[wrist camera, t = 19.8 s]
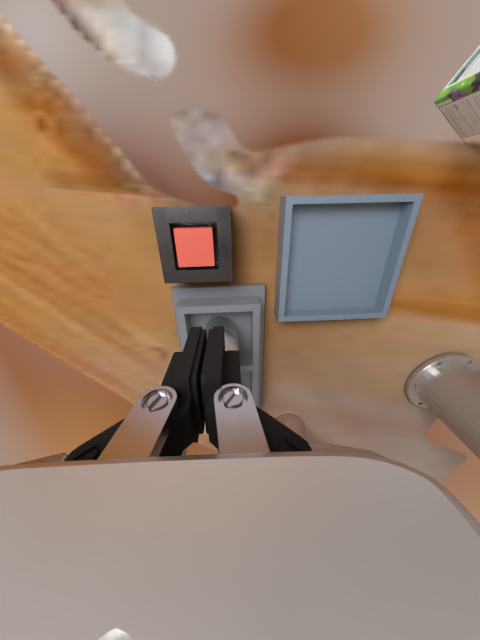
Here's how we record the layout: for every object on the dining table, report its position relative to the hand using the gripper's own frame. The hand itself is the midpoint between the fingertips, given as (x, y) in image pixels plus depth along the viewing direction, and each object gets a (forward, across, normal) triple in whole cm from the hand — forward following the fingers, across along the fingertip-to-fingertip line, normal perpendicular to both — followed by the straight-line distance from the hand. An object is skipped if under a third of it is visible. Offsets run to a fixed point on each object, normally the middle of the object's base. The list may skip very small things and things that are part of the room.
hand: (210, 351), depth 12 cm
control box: (+21, +3, -3) cm, 22 cm away
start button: (+19, +3, -3) cm, 19 cm away
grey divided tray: (+21, +1, +15) cm, 26 cm away
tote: (+22, -15, 0) cm, 26 cm away
